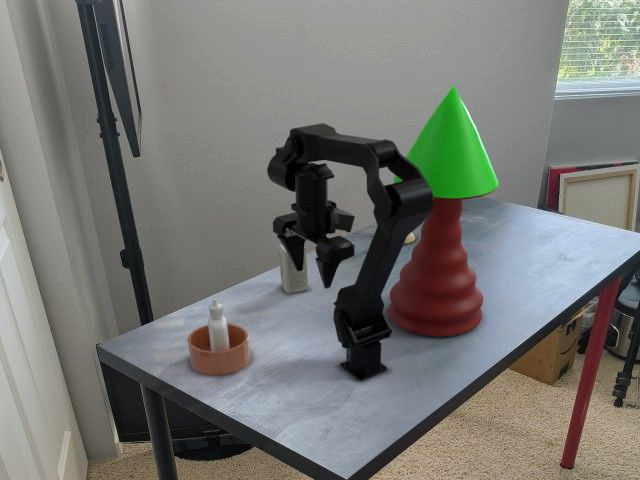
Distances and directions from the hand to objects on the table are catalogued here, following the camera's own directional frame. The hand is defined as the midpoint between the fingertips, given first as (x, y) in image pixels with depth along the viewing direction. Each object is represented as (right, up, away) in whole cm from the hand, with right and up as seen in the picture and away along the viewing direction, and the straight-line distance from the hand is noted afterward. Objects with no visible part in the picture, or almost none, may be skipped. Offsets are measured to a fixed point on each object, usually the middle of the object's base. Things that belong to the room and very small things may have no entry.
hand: (313, 279), depth 139 cm
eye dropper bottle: (-17, -15, -1) cm, 23 cm away
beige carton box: (-6, +2, +24) cm, 25 cm away
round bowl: (-18, -15, -1) cm, 23 cm away
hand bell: (+20, +19, +49) cm, 56 cm away
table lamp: (+25, -5, +14) cm, 29 cm away
